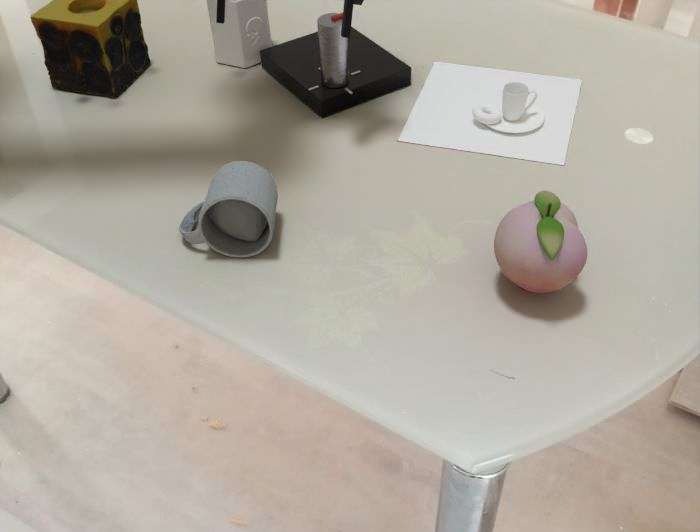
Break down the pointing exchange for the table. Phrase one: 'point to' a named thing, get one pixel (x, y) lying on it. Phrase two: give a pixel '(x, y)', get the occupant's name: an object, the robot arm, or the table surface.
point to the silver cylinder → (332, 51)
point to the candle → (92, 44)
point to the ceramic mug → (235, 211)
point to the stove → (364, 72)
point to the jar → (240, 31)
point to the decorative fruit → (540, 245)
